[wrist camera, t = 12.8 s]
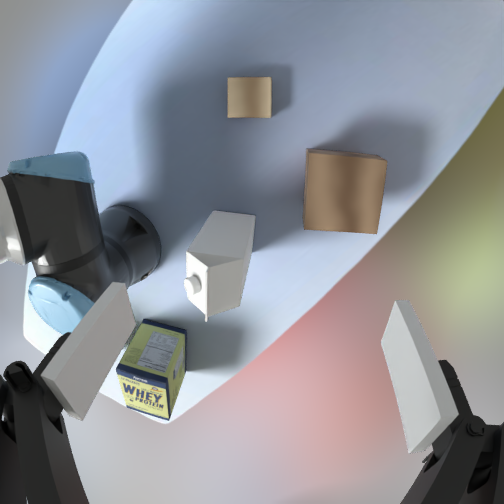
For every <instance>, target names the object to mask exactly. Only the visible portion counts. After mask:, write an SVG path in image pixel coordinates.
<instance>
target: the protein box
mask: <svg viewBox="0 0 504 504" xmlns="http://www.w3.org/2000/svg"><path fill="white" fill-rule="evenodd" d="M186 339H187V331H186V330H184V329H180V328H176V327H172V326H168V325H164V324H160V323H156V322H152V321H149V320H145V319H144V320H143V321H142V323H141V325H140V327H139V328H138V330H137V332H136V334H135V335H134V337H133V339H132V341H131V342H130V344H129V346H128V348H127V350H126V351H125V353H124V355H123V357H122V359H121V360H120V362H119V364H118V366H117V368H116V372H117V375H118V379H119V382H120V386H121V389H122V392H123V395H124V399H125V402H126V406H127V408H130V409H133V410H136V411H139V412H142V413H145V414H148V415H151V416H155V417H158V418H161V419H165V420H168V421H169V419H170V416H171V413H172V410H173V407H174V405H175V402H176V399H177V396H178V393H179V390H180V387H181V384H182V381H183V378H184V375H185V372H186Z"/></svg>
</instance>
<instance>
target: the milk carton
mask: <svg viewBox="0 0 504 504" xmlns="http://www.w3.org/2000/svg"><path fill="white" fill-rule="evenodd" d="M255 218H256V216H255V215H248V214H239V213H231V212H222V211H213V212H212V213H211V215H210V216H209V218H208V219H207V220H206V222H205V223H204V225H203V226H202V228H201V230H200V231H199V233H198V234H197V236H196V237H195V239H194V240H193V242H192V243H191V245H190V246H189V248H188V250H187V252H186V269H187V278H185V280H184V286H185V289H186V291H187V297H188V299H189V300H190V301H191V302H192V303H193V304H194V305H195V306H196V307H198V308H199V309H200V310H201V311H202V312H203V313H204V314H205V322H207V320H208V317H209V316H212V315H215V314H218V313H221V312H224V311H227V310H230V309H233V308H236V307H239V306H240V302H241V298H242V293H243V289H244V285H245V280H246V276H247V272H248V267H249V263H250V259H251V254H252V247H253V238H254V228H255Z"/></svg>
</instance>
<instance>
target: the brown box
mask: <svg viewBox="0 0 504 504" xmlns="http://www.w3.org/2000/svg"><path fill="white" fill-rule="evenodd" d="M386 169H387V160H385V159H383V158H381V157H379V156H378V155H371V154H363V153H354V152H344V151H333V150H321V149H307V150H306V171H305V189H304V204H303V224H304V230H322V231H338V232H354V233H369V234H377V230H378V225H379V219H380V212H381V206H382V199H383V192H384V185H385V177H386Z"/></svg>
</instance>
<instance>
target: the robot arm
mask: <svg viewBox="0 0 504 504" xmlns="http://www.w3.org/2000/svg"><path fill="white" fill-rule="evenodd" d="M7 171H8V173H9V174H8V175H6V176H3V177H1V178H0V264H1V263H3V262H5V261H7V260H8V261H13V262H15V263H17V264H19V265H22V266H23V265H25V264H27V263H29V262H31V261H32V264H33V267H34V270H35V273H36V277H35V278H33V280H32V281H31V284H30V285H29V291H28V294H29V298H30V301H31V303H32V305H33V307H34V309H35V310H36V312H37V313H38V314H39V316H40V317H41V318H42V319H43V320H44V321H45V322H46V323H47V324H48V325H49V326H51V327H52V328H53V329H55V330H56V331H57V332H59V333H61V334H63V336H61V337H60V338H59V339H58V340H57V341H56V343H55V344H54V345H53V347H52V348H51V349H50V351H49V353H47V355H46V356H45V357H44V359H43V360H42V361H41V363H40V364H39V366H38V367H37V368H36V370H35V371H34V373H33V374H32V372H31V371H30V369H29V367H28V366H27V365H26V363H25V362H22V361H16V362H13V363H11V364H10V365H9V366H7V368H6V369H5V371H4V374H3V376H4V377H5V379H6V380H7V381H5V380H4V379H3V377H2V376H1V375H0V504H27V500H28V504H89V502H88V499H87V496H86V494H85V491H84V488H83V486H82V483H81V480H80V477H79V474H78V471H77V468H76V465H75V461H74V458H73V454H72V451H71V447H70V443H69V439H68V435H67V431H66V427H65V423H64V418H63V416H62V414H61V412H62V410H63V408H64V410H65V411H66V412H67V413H68V415H69V416H71V417H74V418H76V419H79V420H81V421H83V419H84V417H85V416H86V414H87V412H88V410H89V408H90V406H91V404H92V402H93V400H94V399H95V397H96V395H97V393H98V391H99V389H100V387H101V386H102V384H103V382H104V380H105V378H106V377H107V375H108V373H109V371H110V369H111V368H112V366H113V364H114V362H115V361H116V359H117V357H118V355H119V354H120V352H121V350H122V348H123V347H124V345H125V343H126V342H127V340H128V338H129V337H130V335H131V333H132V331H133V330H134V328H135V326H136V322H135V319H134V315H133V312H132V308H131V305H130V301H129V297H128V293H127V289H128V287H129V286H131V285H133V284H135V283H137V282H140V281H142V280H143V279H145V278H147V277H148V276H149V275H150V274H151V273H152V272H153V270H154V269H155V268H156V266H157V264H158V262H159V260H160V256H161V244H160V239H159V236H158V234H157V232H156V230H155V228H154V226H153V225H152V223H151V222H150V221H149V220H148V219H147V218H146V217H145V216H144V215H143V214H142V213H140V212H139V211H137V210H135V209H133V208H130V207H127V206H113V207H110V208H108V209H106V210H104V211H103V212H102V213H100V214H99V213H98V208H97V202H96V196H95V190H94V180H93V179H92V175H91V169H90V164H89V160H88V157H87V156H86V155H85V154H84V153H82V152H78V151H77V152H67V153H59V154H52V155H46V156H39V157H33V158H28V159H22V160H17V161H12V162H10V163H9V166H8V170H7ZM381 345H382V348H383V352H384V355H385V358H386V362H387V365H388V369H389V372H390V376H391V380H392V383H393V387H394V391H395V395H396V398H397V403H398V407H399V411H400V415H401V419H402V423H403V428H404V433H405V437H406V442H407V447H408V452H409V454H411V453H416V452H421V451H425V450H426V449H427V448H428V447H429V446H430V445H431V444H432V446H433V451H432V453H430V454H429V455H428V456H427V457H426V458H425V459H424V460H423V461H422V462H423V463H425V462H426V461H427V462H426V463H425V465H424V467H423V468H422V470H421V472H420V474H419V475H418V477H417V479H416V480H415V482H414V484H413V485H412V487H411V488H410V490H409V491H408V493H407V494H406V496H405V497H404V499H403V500H402V502H401V503H400V504H504V422H503V423H502V424H501V425H486V424H485V422H484V421H483V420H482V419H481V418H480V417H478V416H475V415H473V414H472V411H471V409H470V406H469V404H468V401H467V399H466V396H465V394H464V391H463V389H462V387H461V384H460V382H459V379H457V375H456V372H455V370H454V368H453V367H452V366H451V365H450V364H449V363H448V362H447V360H439V361H438V360H437V358H436V356H435V353H434V351H433V349H432V347H431V344H430V342H429V340H428V338H427V336H426V333H425V331H424V329H423V327H422V325H421V323H420V321H419V319H418V317H417V315H416V313H415V311H414V309H413V307H412V305H411V303H410V301H409V300H395V303H394V306H393V309H392V312H391V315H390V318H389V321H388V324H387V326H386V329H385V332H384V335H383V338H382V340H381ZM2 414H3V415H4V421H2ZM26 496H27V500H26Z"/></svg>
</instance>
